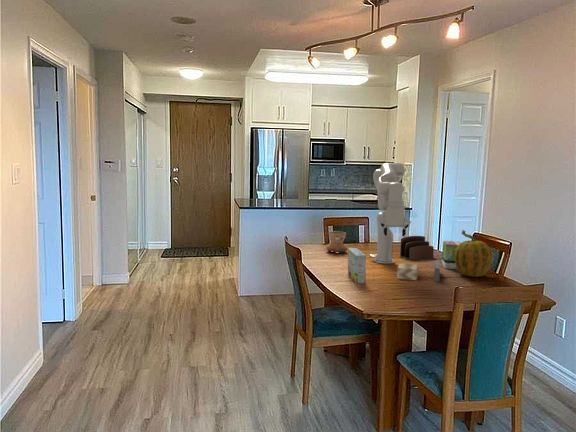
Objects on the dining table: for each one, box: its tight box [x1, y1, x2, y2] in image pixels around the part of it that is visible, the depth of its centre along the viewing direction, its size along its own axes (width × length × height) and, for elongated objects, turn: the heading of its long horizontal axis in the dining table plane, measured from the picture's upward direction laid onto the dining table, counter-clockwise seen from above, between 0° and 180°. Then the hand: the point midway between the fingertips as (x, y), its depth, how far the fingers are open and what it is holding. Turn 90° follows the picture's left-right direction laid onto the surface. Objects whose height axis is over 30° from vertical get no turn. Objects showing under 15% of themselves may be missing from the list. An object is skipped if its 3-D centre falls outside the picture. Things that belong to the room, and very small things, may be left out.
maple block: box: [396, 263, 419, 281], centre depth 259 cm, size 10×12×6 cm
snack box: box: [347, 247, 367, 285], centre depth 253 cm, size 21×6×15 cm, turn 5°
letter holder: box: [399, 235, 435, 261], centre depth 312 cm, size 10×20×14 cm, turn 114°
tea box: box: [441, 240, 461, 270], centre depth 286 cm, size 15×10×15 cm, turn 168°
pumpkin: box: [455, 229, 493, 278], centre depth 261 cm, size 19×19×25 cm
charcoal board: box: [433, 259, 441, 283], centre depth 259 cm, size 2×22×7 cm, turn 163°
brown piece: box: [326, 230, 348, 253], centre depth 329 cm, size 18×14×14 cm
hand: (394, 235), depth 263 cm, fingers open, 9 cm apart
